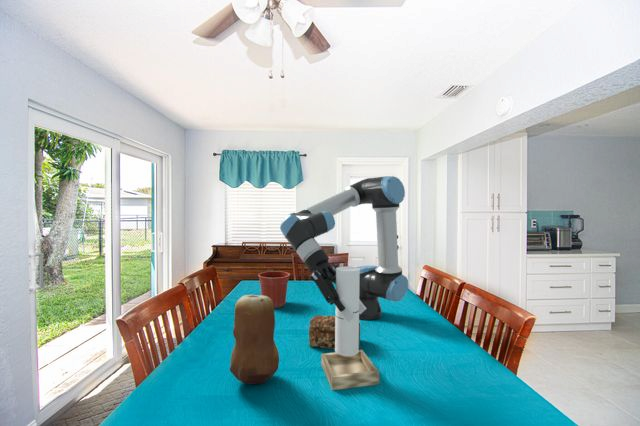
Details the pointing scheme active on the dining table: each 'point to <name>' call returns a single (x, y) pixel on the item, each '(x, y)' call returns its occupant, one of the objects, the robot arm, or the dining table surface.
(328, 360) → the holder tray
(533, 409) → the dining table surface
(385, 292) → the robot arm
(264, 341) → the butternut squash
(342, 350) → the cylindrical container
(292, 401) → the dining table surface
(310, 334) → the bread
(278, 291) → the flower pot
